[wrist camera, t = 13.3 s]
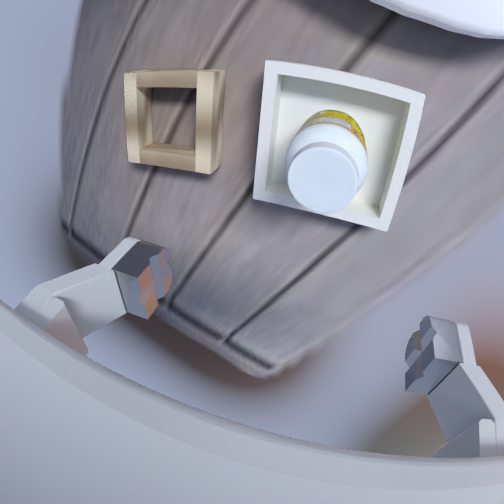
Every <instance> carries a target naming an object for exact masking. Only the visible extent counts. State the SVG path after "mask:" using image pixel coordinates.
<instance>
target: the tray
mask: <svg viewBox="0 0 504 504" xmlns="http://www.w3.org/2000/svg"><path fill="white" fill-rule="evenodd" d="M425 96H426V95H425V94H422V93H420V92H418V91H415V90H412V89H408V88H405V87H402V86H399V85H395V84H392V83H388V82H385V81H381V80H377V79H374V78H370V77H366V76H361V75H357V74H353V73H348V72H344V71H339V70H334V69H329V68H323V67H317V66H311V65H305V64H298V63H291V62H283V61H273V60H266V62H265V72H264V83H263V93H262V104H261V114H260V125H259V136H258V147H257V157H256V168H255V179H254V190H253V199H256V200H261V201H265V202H270V203H274V204H279V205H283V206H288V207H292V208H296V209H300V210H305V211H309V212H313V213H317V214H321V215H325V216H329V217H333V218H337V219H341V220H345V221H349V222H353V223H357V224H360V225H364V226H368V227H372V228H375V229H379V230H383V231H386V232H387V230H388V227H389V225H390V222H391V219H392V216H393V213H394V210H395V207H396V204H397V201H398V198H399V195H400V192H401V189H402V185H403V182H404V179H405V175H406V172H407V169H408V165H409V162H410V158H411V154H412V151H413V147H414V143H415V139H416V135H417V131H418V127H419V123H420V119H421V115H422V110H423V105H424V101H425ZM329 109H332V110H339V111H342V112H345V113H347V114H349V115H350V116H352V117H353V118H354V119H355V120H356V122H357V123H358V124H359V126H360V128H361V129H362V131H363V134H364V138H365V144H366V150H367V157H368V173H367V177H366V180H365V182H364V184H363V186H362V187H361V189H360V190H359V191H358V192H357V193H356V195H355V197H354V198H353V200H352V201H351V202H350V204H348V205H347V206H346V207H345V208H343V209H341V210H339V211H336V212H332V213H319V212H314V211H311V210H309V209H307V208H305V207H304V206H302V205H301V204H300V203H299V202H298V201H297V200H296V199H295V198H294V197H293V195H292V193H291V191H290V189H289V186H288V180H287V175H288V173H287V170H286V153H287V149H288V147H289V144H290V143H291V141H292V139H293V138H294V136H295V135H296V134H297V132H298V131H299V130H300V129H301V127H302V126H303V124H304V123H305V122H306V121H307V120H308V119H309V118H310V117H311V116H312V115H313V114H315V113H317V112H319V111H322V110H329Z"/></svg>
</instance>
